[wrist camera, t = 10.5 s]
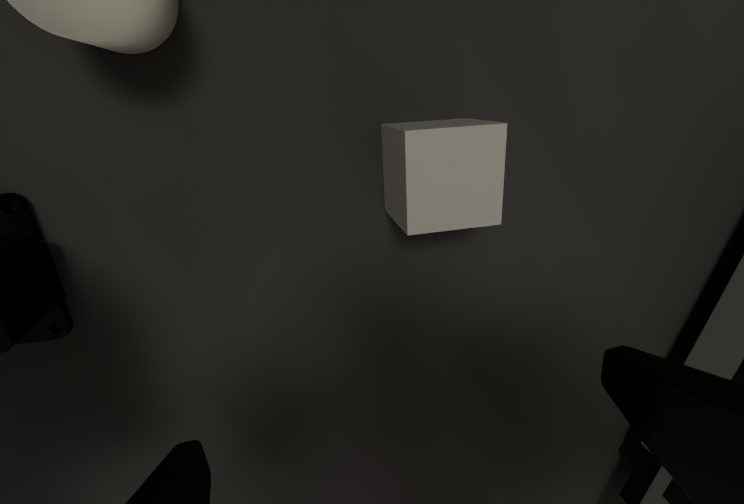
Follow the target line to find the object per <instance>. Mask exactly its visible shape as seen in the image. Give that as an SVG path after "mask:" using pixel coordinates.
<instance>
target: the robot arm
mask: <svg viewBox="0 0 744 504" xmlns="http://www.w3.org/2000/svg"><path fill="white" fill-rule="evenodd" d="M7 201H9V202H11V203H13V204H14V206H15V208H16V210H15V211H12V210H10V209H9V208H8V207H7ZM65 296H66V294H65V291H64V289H63V286H62V283H61V281H60V278H59V275H58V273H57V270H56V267H55V265H54V262H53V259H52V256H51V254H50V251H49V248H48V246H47V244H46V243H44V242H43V241H42V239H41V237H40V234H39V231H38V229H37V226H36V223H35V221H34V218H33V216H32V213H31V210H30V208H29V205H28V203H27V201H26V200H25V199H24V198H23V197H22V196H21V195H18V194H16V193H3V194H0V353H1V352H5V351H8V350H10V349H11V348H12V347H13V346H14V345H16V344H23V343H30V342H37V341H44V340H50V339H57V338H62V337H64V336H66V335H67V334H68V333H69V332H70V331H71V330H72V327H73V322H72V319H71V316H70V314H69V311H68V309H67V306H66V303H65V301H64V298H65ZM54 323H56V324H59V325H61V326H62V329H59V328H57V327H55V325H54ZM601 382H602V385H603V387H604V389H605V390H606V392H607V393H608V394H609V396H610V397H611V399H612V400H613V401H614V403H615V404H616V406H617V407H618V408H619V410H620V411H621V413H622V414H623V415H624V417H625V418H626V419H627V421H628V422H629V424H630V425H631V426H632V428H633V429H634V431H635V432H636V433H637V435H638V436H639V438H640V439H641V440H642V442H643V443H644V444H645V446H646V447H647V448H648V449H649V451H650V452H651V453H652V454H653V456H654V457H655V458H656V459H657V460H658V461H659V463H660V464H661V465H662V466H663V467H664V468H665V470H666V471H667V472H668V473H669V474H670V476H671V477H672V478H673V479H674V480H675V481H676V483H677V484H678V485H679V486H680V487H681V488H682V490H683V491H684V492H685V493H686V494H687V495H688V497H689V498H690V499H691V500H692V501H693V502H694V504H744V384H741V383H738V382H735V381H732V380H729V379H726V378H723V377H720V376H717V375H714V374H711V373H708V372H705V371H702V370H698V369H695V368H692V367H689V366H686V365H683V364H680V363H677V362H674V361H671V360H668V359H665V358H662V357H659V356H655V355H652V354H649V353H646V352H643V351H640V350H637V349H634V348H631V347H628V346H617V347H613V348H609V349H607V350H606V351H605V353H604V358H603V365H602V373H601ZM210 489H211V472H210V468H209V465H208V462H207V459H206V456H205V453H204V450H203V447H202V444H201V443H200V441H198V440H192V441H187V442H183V443H179V444H177V445H176V446H175V447H174V448H173V449H172V450H171V451H170V452H169V453H168V455H167V456H166V457H165V458H164V459H163V461H162V462H161V463H160V464H159V465H158V466H157V468H156V469H155V470H154V471H153V472H152V473H151V475H150V476H149V477H148V478H147V479H146V480H145V482H144V483H143V484H142V485H141V486H140V487H139V489H138V490H137V491H136V492H135V493H134V494H133V496H132V497H131V498H130V499H129V500H128V502H127V503H126V504H210Z"/></svg>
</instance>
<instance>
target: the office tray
mask: <svg viewBox="0 0 744 504" xmlns="http://www.w3.org/2000/svg"><path fill="white" fill-rule="evenodd" d="M667 359H668V360H671V361H674V362H677V363H680V364H683V365H686V366H689V367H692V368H695V369H698V370H702V371H705V372H708V373H711V374H714V375H717V376H720V377H723V378H726V379H729V380H732V381H735V382H738V383H741V384H744V215H743V217H742V219H741V221H740V223H739V225H738V226H737V228H736V230H735V232H734V234H733V236H732V238H731V240H730V241H729V243H728V245H727V247H726V249H725V251H724V253H723V255H722V257H721V258H720V260H719V262H718V264H717V266H716V268H715V270H714V272H713V274H712V275H711V277H710V279H709V281H708V283H707V285H706V287H705V289H704V291H703V292H702V294H701V296H700V298H699V300H698V302H697V304H696V306H695V308H694V309H693V311H692V313H691V315H690V317H689V319H688V321H687V323H686V325H685V326H684V328H683V330H682V332H681V334H680V336H679V338H678V340H677V341H676V343H675V345H674V347H673V349H672V351H671V353H670V355H669V357H668V358H667ZM619 452H620V453H621V454H622V455H623V456H624V457H625V458H626V459H627V460H628V461H629V462H630V463H631V464H632V466H633V467H634V469H633V470H632V472H631V474H630V476H629V478H628V479H627V481H626V483H625V485H624V487H623V488H622V490H621V492H620V495H621V497H622V498H623V499H624V500H625V501H626V503H627V504H694V502H693V501H692V500H691V499H690V498H689V497H688V495H687V494H686V493H685V492H684V491H683V490H682V488H681V487H680V486H679V485H678V484H677V483H676V481H675V480H674V479H673V478H672V477H671V476H670V474H669V473H668V472H667V471H666V470H665V468H664V467H663V466H662V465H661V464H660V463H659V461H658V460H657V459H656V458H655V457H654V456H653V454H652V453H651V452H650V451H649V449H648V448H647V447H646V446H645V444H644V443H643V442H642V440H641V439H640V438H639V436H638V435H637V433H636V432H635V431H634V429H633V428H632V426H631V428H630V430H629V432H628V434H627V436H626V438H625V440H624V441H623V443H622V445H621V447H620V449H619Z"/></svg>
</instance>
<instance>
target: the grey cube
mask: <svg viewBox="0 0 744 504" xmlns="http://www.w3.org/2000/svg"><path fill="white" fill-rule="evenodd" d="M381 130H382V151H383V173H384V195H385V211H386V212H387V213H388V214H389V215H390V216H391V218H392V219H393V220H394V221H395V222H396V223H397V224H398V225H399V226H400V228H401V229H402V230H403V231H404V232H405V233H406V234H407V235H416V234H424V233H433V232H441V231H449V230H457V229H466V228H474V227H482V226H491V225H499V224H501V217H502V200H503V184H504V168H505V151H506V135H507V123H502V122H494V121H485V120H477V119H468V118H461V119H447V120H433V121H420V122H406V123H393V124H381Z"/></svg>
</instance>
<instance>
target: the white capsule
mask: <svg viewBox="0 0 744 504" xmlns="http://www.w3.org/2000/svg"><path fill="white" fill-rule="evenodd" d="M7 1H8V2H9V3H10V4H11V5H12V6H13V7H14V8H15V9H16V10H17V11H18V12H19V13H20V14H22V15H23V16H24V17H25V18H26V19H28V20H29V21H31V22H32V23H34V24H35V25H37V26H38V27H40V28H42V29H44V30H46V31H48V32H50V33H52V34H55V35H58V36H61V37H64V38H68V39H72V40H75V41H79V42H82V43H86V44H90V45H93V46H97V47H101V48H104V49H108V50H112V51H115V52H119V53H125V54H138V53H144V52H148V51H150V50H152V49H155V48H156V47H158V46H159V45H161V44H162V43H163V42H164V41H165V40H166V39H167V38H168V37H169V36H170V34H171V32H172V31H173V29H174V26H175V24H176V21H177V17H178V9H179V3H178V0H7Z"/></svg>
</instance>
